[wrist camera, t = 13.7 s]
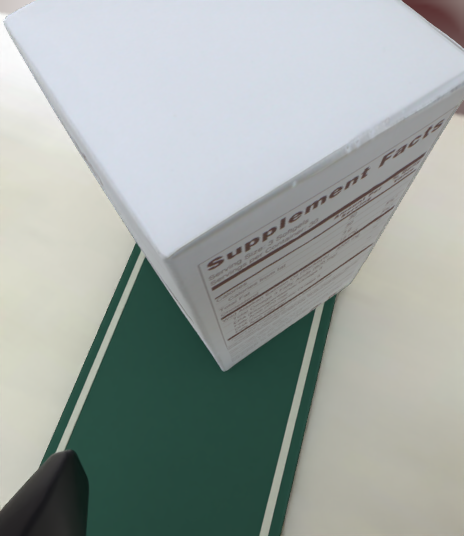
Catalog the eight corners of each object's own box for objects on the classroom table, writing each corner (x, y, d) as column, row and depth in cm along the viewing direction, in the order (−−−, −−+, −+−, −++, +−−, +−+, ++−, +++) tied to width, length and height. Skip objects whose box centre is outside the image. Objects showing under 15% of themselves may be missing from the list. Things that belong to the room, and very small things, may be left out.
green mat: (258, 624, 15) (258, 630, 15) (17, 526, 17) (11, 528, 17) (364, 173, 22) (366, 168, 22) (185, 135, 24) (184, 129, 24)
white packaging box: (140, 251, 21) (-13, 7, 9) (264, 176, 22) (269, -123, 10) (221, 379, 18) (152, 266, 7) (357, 287, 19) (501, 53, 8)
